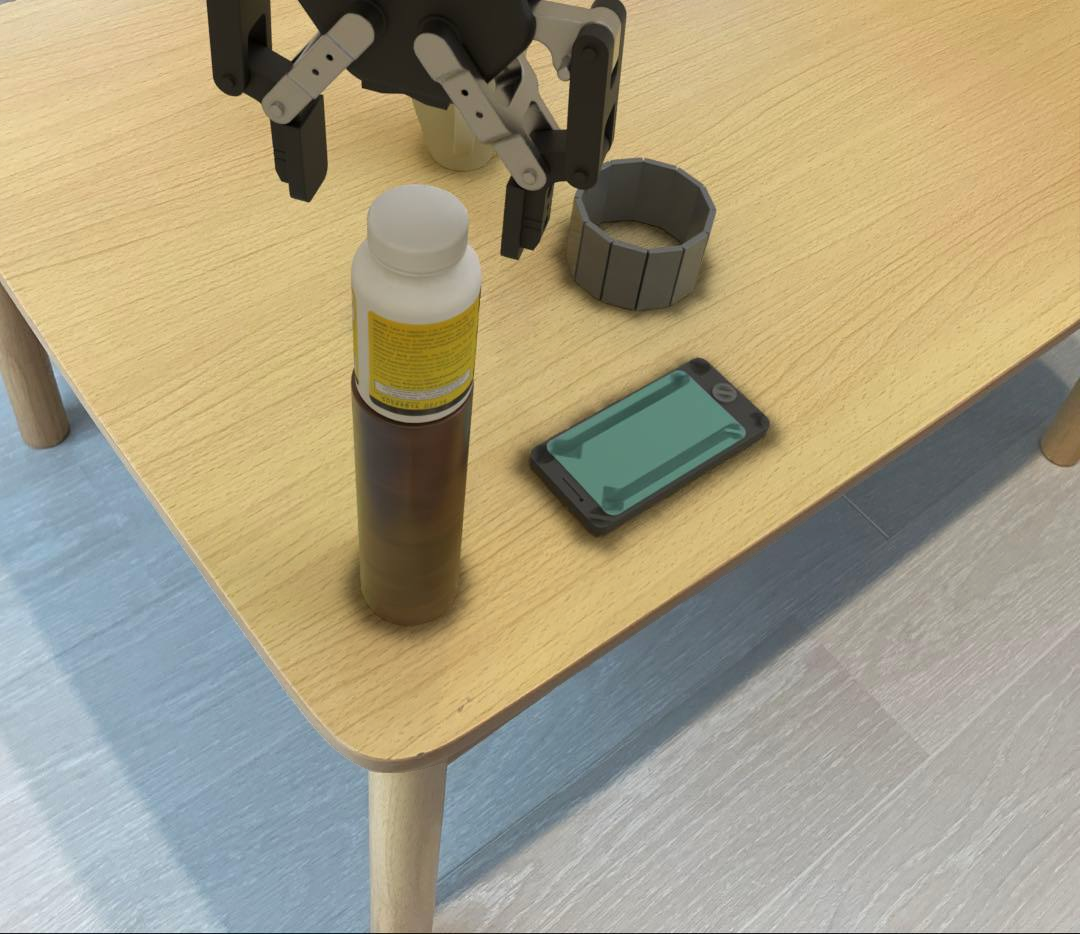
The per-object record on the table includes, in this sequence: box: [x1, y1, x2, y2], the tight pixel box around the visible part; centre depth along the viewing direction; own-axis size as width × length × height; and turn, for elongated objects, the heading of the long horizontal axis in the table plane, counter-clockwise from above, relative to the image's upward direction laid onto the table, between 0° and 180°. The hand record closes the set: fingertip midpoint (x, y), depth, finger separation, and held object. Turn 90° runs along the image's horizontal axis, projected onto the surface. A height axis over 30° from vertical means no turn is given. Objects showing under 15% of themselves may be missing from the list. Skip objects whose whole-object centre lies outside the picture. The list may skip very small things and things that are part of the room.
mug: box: [411, 48, 528, 172], centre depth 86 cm, size 11×10×12 cm
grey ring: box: [565, 156, 717, 312], centre depth 84 cm, size 10×10×6 cm
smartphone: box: [528, 357, 771, 537], centre depth 75 cm, size 7×1×15 cm
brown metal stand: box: [350, 368, 475, 626], centre depth 61 cm, size 6×6×18 cm
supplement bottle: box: [350, 183, 483, 423], centre depth 50 cm, size 5×5×10 cm
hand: (412, 216), depth 46 cm, fingers open, 8 cm apart
